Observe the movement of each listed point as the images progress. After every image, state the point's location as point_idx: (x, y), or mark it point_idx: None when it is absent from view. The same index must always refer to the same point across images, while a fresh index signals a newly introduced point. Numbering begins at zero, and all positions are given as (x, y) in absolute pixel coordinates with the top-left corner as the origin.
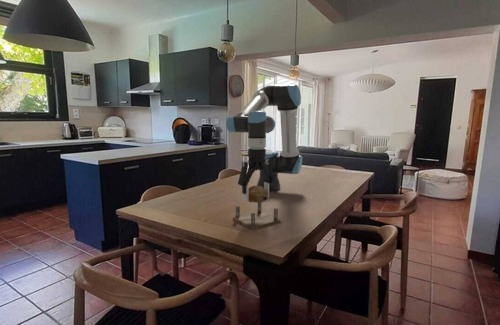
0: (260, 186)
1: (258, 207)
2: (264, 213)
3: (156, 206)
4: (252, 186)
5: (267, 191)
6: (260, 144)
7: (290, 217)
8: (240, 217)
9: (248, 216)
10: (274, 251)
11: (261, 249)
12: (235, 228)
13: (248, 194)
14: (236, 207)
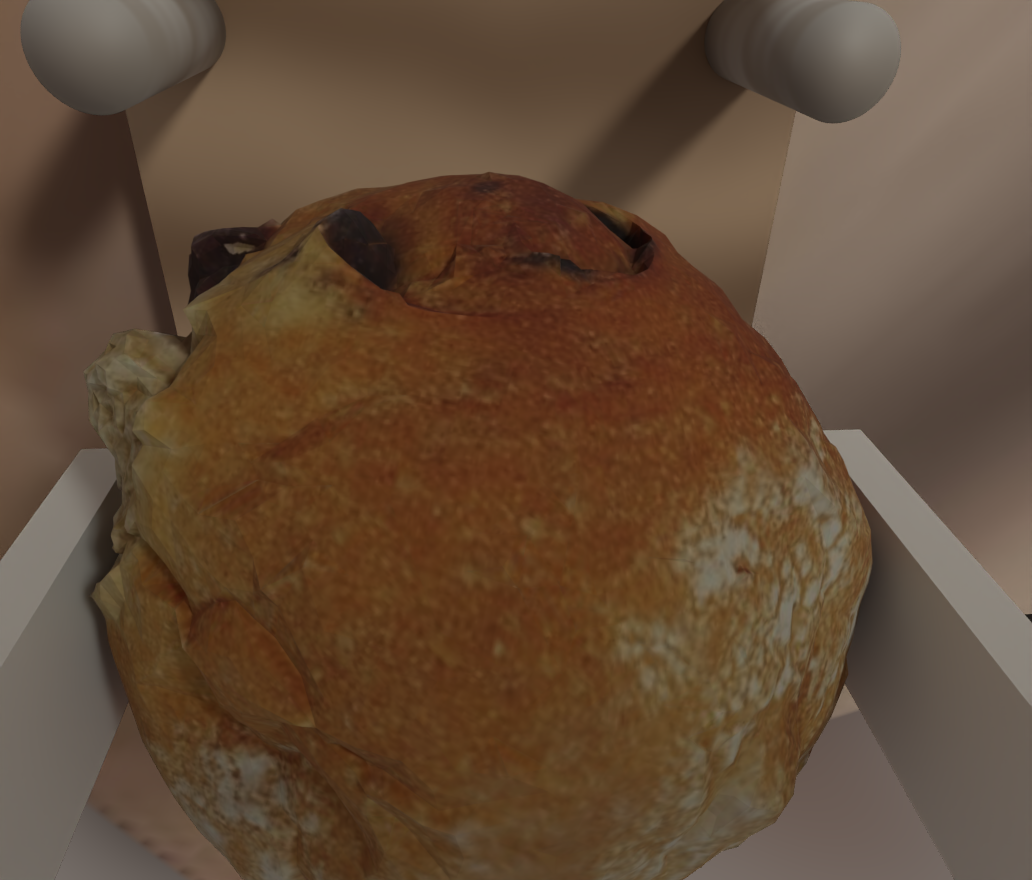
0: (736, 798)
1: (740, 67)
2: (752, 172)
3: None
4: (390, 761)
5: (855, 693)
6: None
7: (955, 425)
8: (225, 90)
9: (399, 135)
10: (218, 855)
11: (133, 811)
12: (26, 356)
13: (99, 758)
14: (45, 75)
